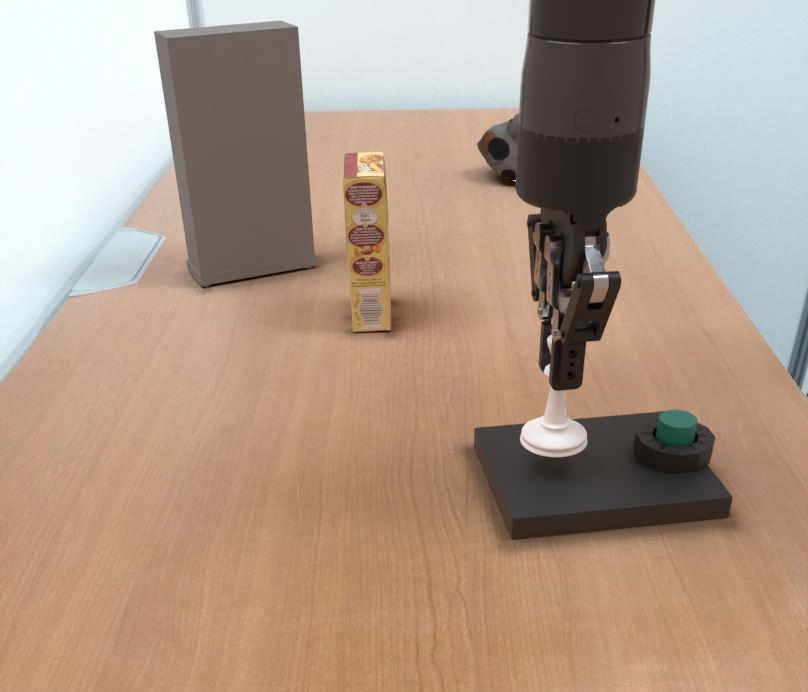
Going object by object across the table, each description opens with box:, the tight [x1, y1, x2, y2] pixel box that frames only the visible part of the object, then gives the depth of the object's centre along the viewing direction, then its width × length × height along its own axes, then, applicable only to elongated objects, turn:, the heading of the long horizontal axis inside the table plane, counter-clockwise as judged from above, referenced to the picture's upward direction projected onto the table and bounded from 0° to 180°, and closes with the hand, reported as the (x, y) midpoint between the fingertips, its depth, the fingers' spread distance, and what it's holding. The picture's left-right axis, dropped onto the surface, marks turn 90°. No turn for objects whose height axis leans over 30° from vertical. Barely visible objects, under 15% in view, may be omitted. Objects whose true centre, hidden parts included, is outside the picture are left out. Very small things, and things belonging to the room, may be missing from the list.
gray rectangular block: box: [153, 20, 318, 288], centre depth 104 cm, size 14×6×25 cm, turn 115°
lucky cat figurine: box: [476, 112, 519, 186], centre depth 137 cm, size 15×12×14 cm
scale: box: [473, 410, 734, 541], centre depth 72 cm, size 17×13×4 cm
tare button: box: [656, 409, 698, 447], centre depth 71 cm, size 3×3×2 cm
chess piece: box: [520, 311, 587, 457], centre depth 67 cm, size 5×5×10 cm
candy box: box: [342, 151, 392, 333], centre depth 95 cm, size 9×4×15 cm, turn 2°
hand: (559, 377), depth 67 cm, fingers closed on chess piece
